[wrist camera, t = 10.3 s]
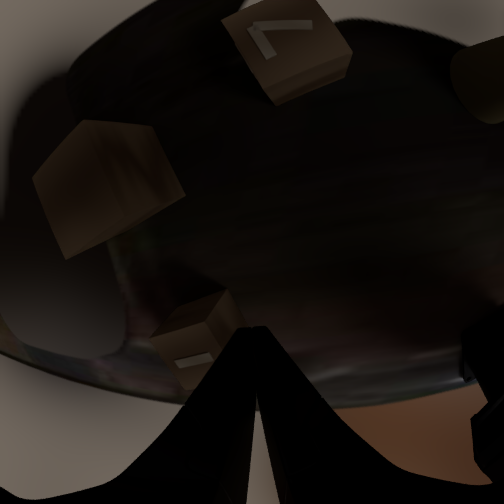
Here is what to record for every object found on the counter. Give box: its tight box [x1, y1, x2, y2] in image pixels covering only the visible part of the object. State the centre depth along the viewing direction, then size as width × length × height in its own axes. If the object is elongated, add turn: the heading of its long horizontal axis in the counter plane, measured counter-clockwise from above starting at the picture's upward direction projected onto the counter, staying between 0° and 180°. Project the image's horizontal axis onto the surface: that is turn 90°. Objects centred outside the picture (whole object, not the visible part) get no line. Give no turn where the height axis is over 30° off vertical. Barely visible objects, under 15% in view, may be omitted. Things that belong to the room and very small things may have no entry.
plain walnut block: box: [32, 120, 186, 259], centre depth 17 cm, size 6×6×8 cm
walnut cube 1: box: [149, 288, 249, 390], centre depth 21 cm, size 5×5×5 cm
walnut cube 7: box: [221, 0, 353, 106], centre depth 14 cm, size 5×5×5 cm
